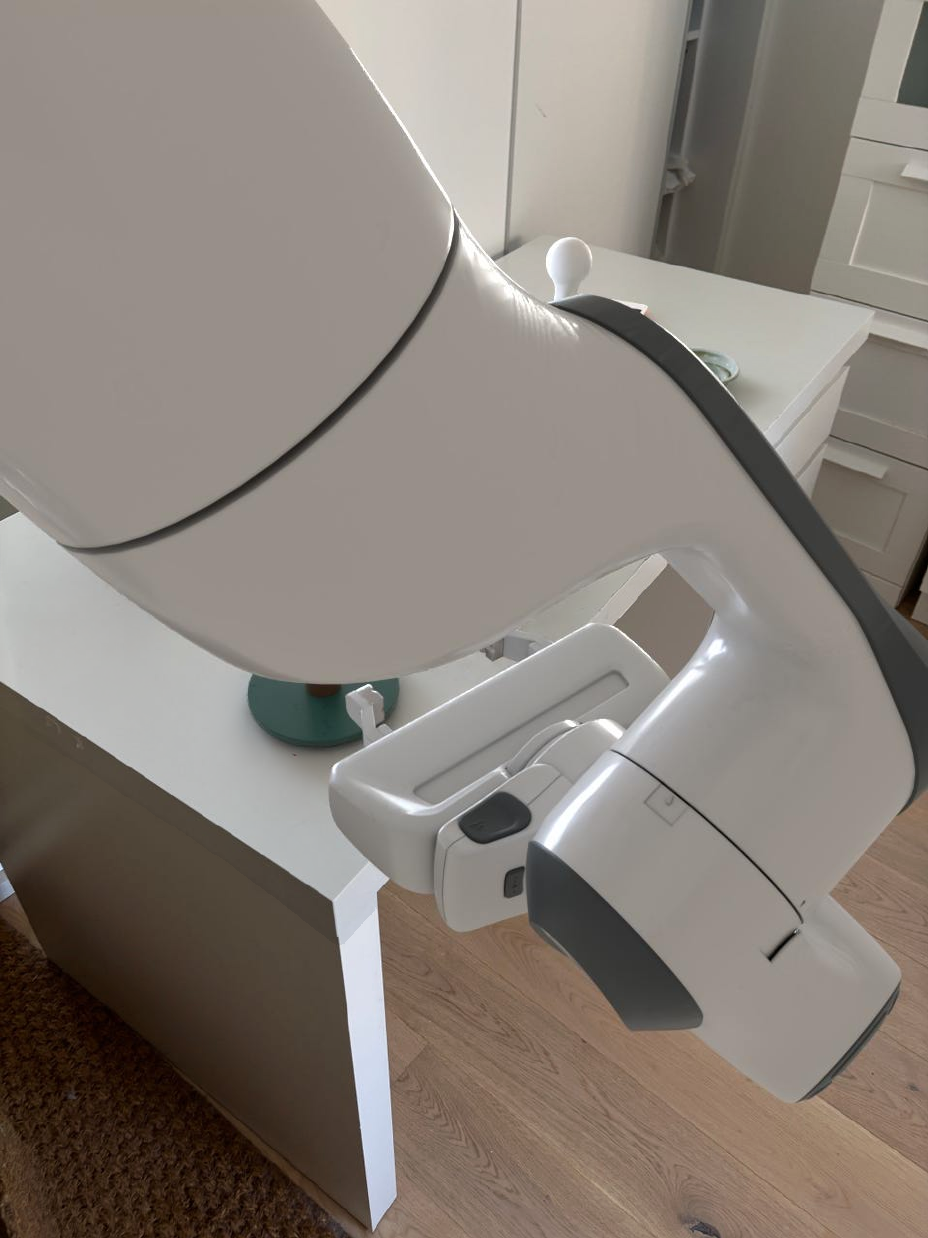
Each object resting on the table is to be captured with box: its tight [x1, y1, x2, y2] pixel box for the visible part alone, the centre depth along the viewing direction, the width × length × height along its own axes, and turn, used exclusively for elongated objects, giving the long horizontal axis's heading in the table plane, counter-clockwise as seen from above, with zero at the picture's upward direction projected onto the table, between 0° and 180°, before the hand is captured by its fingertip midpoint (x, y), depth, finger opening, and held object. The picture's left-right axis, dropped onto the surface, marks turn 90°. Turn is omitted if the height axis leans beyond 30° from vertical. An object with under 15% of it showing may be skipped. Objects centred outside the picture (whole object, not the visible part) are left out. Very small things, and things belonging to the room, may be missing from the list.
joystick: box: [545, 236, 593, 301], centre depth 100 cm, size 11×8×20 cm
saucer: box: [687, 346, 741, 387], centre depth 113 cm, size 10×10×2 cm
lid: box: [246, 673, 400, 747], centre depth 70 cm, size 11×11×9 cm
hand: (422, 662), depth 57 cm, fingers open, 8 cm apart
